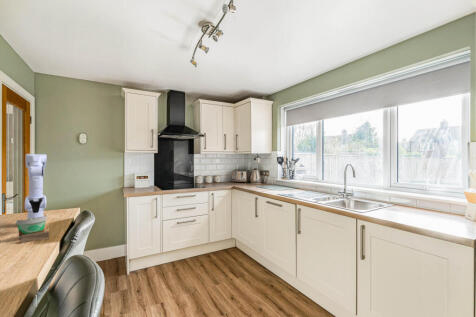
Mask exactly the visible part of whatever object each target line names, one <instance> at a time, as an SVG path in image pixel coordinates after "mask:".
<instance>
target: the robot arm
mask: <svg viewBox="0 0 476 317" xmlns="http://www.w3.org/2000/svg"><path fill="white" fill-rule="evenodd" d="M25 167H26V169H28V170H27V175H28V195H27V196H25V199H24V210H25V211H27V218H26V220H27V219H31V218H39V217H44V210H45V209H46V208H47V196H46V195H44V176H45V169H46V167H47V154H46V153H41V154H40V153H38V154H37V153H26V154H25Z"/></svg>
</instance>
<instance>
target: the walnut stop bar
mask: <svg viewBox="0 0 476 317" xmlns="http://www.w3.org/2000/svg"><path fill="white" fill-rule="evenodd" d="M49 238H50V231H49V230H44V232H39V233H33V234H27V235H22V236H21V240H20V242H21V244H25V243H31V242H36V241H41V240H42V241H43V240H47V239H49Z"/></svg>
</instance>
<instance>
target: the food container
mask: <svg viewBox="0 0 476 317" xmlns="http://www.w3.org/2000/svg"><path fill="white" fill-rule="evenodd" d="M47 220H48V217H47V215H46V214H44V215H43V217H39V218H31V219H27V218H26V219H17V220H16V222H15V225H17V230H18V239H19V240H20V241H21V236H22V235H27V234H33V233H39V232H45V225H46V221H47Z"/></svg>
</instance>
